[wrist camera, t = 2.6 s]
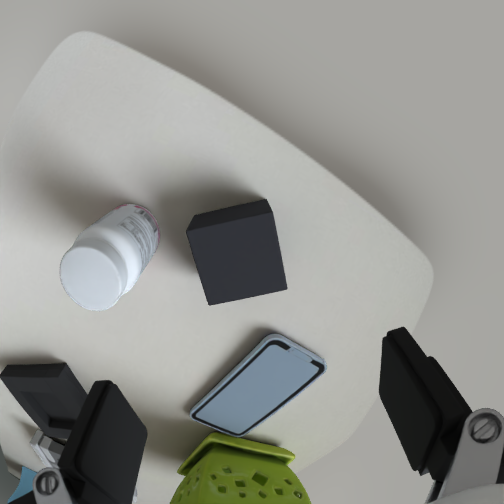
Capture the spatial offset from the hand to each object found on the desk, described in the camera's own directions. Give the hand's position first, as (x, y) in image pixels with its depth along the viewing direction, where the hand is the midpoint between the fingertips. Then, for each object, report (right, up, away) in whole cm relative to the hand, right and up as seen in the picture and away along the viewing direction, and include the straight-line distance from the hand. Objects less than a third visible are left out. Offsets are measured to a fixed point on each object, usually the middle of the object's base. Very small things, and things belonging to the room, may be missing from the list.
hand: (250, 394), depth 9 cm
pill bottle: (-9, +6, +13) cm, 17 cm away
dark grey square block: (-1, +5, +14) cm, 15 cm away
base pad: (-25, -14, +20) cm, 35 cm away
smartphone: (0, -9, +20) cm, 22 cm away
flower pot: (-3, -22, +25) cm, 34 cm away
